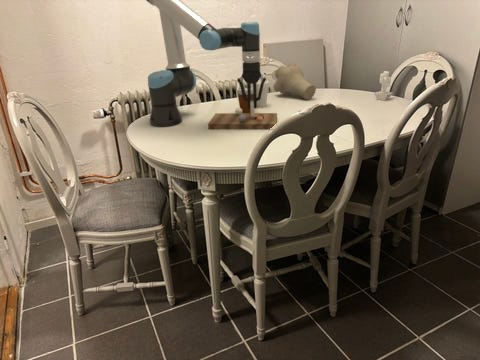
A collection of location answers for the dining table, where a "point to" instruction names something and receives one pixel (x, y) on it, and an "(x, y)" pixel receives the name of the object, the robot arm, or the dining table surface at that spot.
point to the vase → (293, 82)
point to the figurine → (384, 87)
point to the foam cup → (263, 99)
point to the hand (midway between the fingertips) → (252, 115)
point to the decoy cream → (238, 111)
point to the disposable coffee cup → (242, 102)
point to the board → (250, 123)
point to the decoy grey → (241, 118)
